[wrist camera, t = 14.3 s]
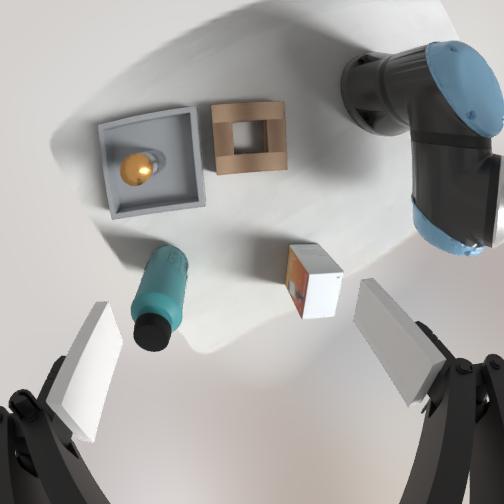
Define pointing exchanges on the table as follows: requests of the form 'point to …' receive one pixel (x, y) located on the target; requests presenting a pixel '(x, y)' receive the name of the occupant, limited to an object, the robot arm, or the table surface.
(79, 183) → the table surface
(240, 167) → the block
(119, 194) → the tray
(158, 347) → the beverage bottle
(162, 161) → the pin
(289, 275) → the small box
